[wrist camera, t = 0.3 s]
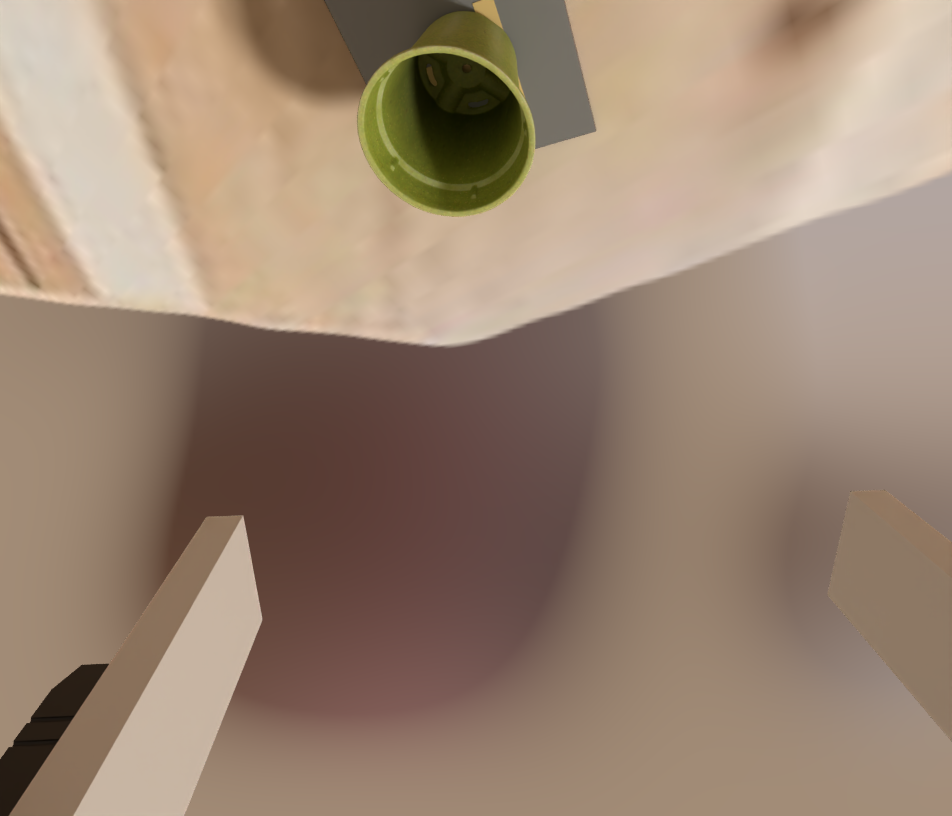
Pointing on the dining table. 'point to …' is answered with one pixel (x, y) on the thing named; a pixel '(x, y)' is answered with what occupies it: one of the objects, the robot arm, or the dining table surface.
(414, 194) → the plant pot
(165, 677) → the robot arm
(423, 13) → the slate mat
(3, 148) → the dining table surface
